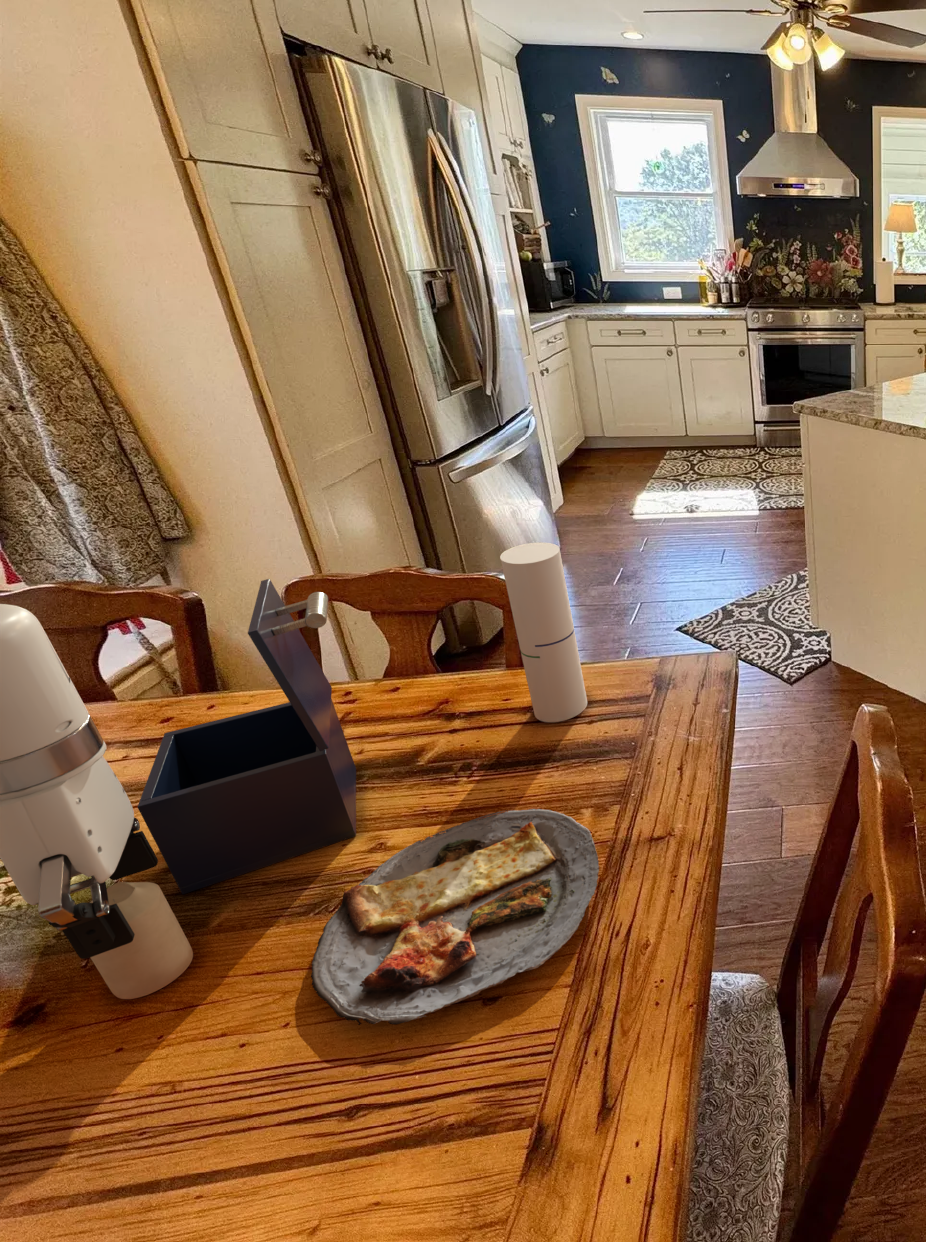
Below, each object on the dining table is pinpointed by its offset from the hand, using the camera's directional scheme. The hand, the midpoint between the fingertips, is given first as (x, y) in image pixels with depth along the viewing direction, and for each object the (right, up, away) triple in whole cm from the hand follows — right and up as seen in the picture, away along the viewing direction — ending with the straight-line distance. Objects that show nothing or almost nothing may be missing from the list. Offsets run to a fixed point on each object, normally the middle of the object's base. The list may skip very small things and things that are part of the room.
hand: (123, 907), depth 65 cm
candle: (-1, -8, +3) cm, 9 cm away
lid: (+2, +19, +15) cm, 25 cm away
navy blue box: (-4, 0, +20) cm, 21 cm away
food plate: (+25, -6, +10) cm, 28 cm away
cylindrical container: (+18, +9, +43) cm, 47 cm away
